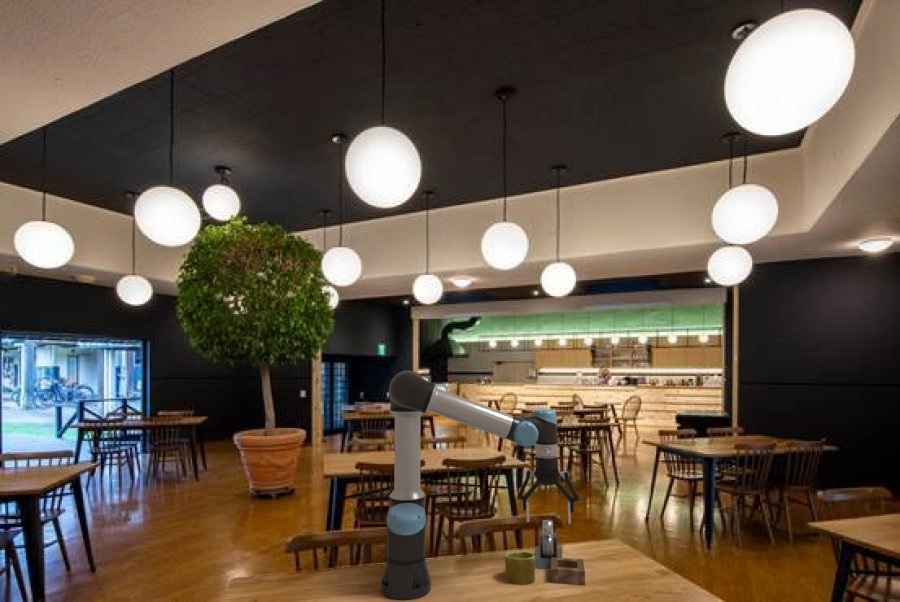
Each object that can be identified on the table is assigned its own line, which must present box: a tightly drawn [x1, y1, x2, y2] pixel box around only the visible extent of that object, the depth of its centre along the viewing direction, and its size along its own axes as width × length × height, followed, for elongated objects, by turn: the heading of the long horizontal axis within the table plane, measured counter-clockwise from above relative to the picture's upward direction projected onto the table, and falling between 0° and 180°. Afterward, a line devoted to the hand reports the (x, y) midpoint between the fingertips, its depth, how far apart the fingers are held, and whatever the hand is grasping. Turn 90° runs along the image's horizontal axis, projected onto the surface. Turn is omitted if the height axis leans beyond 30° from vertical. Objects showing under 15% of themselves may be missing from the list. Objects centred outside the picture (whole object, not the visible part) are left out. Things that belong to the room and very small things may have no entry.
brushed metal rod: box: [542, 519, 554, 559], centre depth 177 cm, size 3×3×14 cm
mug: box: [504, 550, 536, 586], centre depth 167 cm, size 12×10×10 cm
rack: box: [550, 557, 586, 586], centre depth 167 cm, size 10×10×5 cm
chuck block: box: [534, 530, 563, 571], centre depth 180 cm, size 9×12×9 cm
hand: (548, 521), depth 178 cm, fingers open, 13 cm apart
